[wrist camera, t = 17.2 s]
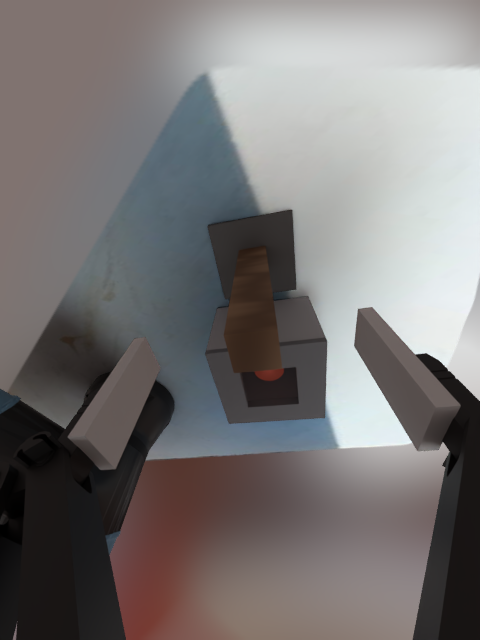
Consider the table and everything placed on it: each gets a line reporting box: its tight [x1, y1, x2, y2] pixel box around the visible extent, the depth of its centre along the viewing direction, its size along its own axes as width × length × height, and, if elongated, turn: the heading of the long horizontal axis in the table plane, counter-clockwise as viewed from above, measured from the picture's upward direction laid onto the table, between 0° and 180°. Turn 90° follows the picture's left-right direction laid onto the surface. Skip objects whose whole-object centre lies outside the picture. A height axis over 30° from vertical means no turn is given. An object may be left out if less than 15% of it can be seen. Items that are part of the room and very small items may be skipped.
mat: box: [208, 210, 296, 299], centre depth 27 cm, size 9×9×1 cm
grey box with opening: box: [205, 296, 327, 424], centre depth 30 cm, size 12×12×9 cm
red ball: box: [254, 368, 284, 381], centre depth 30 cm, size 4×4×4 cm
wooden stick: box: [224, 246, 282, 373], centre depth 20 cm, size 3×3×16 cm
